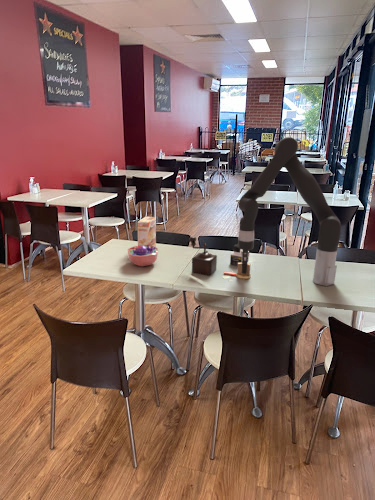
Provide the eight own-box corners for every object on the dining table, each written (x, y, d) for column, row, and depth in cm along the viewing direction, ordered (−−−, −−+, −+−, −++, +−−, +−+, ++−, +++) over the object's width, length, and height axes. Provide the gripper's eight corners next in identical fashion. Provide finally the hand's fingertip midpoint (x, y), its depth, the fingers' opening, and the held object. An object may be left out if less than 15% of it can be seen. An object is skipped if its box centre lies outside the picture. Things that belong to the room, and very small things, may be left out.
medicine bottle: (229, 266, 205) (230, 245, 201) (234, 262, 211) (235, 242, 207) (242, 269, 202) (243, 247, 198) (246, 265, 208) (248, 244, 204)
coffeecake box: (148, 254, 223) (148, 222, 217) (137, 253, 225) (136, 221, 219) (156, 247, 237) (156, 216, 231) (145, 246, 238) (145, 216, 232)
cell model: (161, 259, 215) (161, 240, 212) (155, 271, 196) (154, 251, 193) (132, 257, 217) (131, 238, 213) (123, 269, 198) (122, 249, 195)
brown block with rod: (251, 275, 190) (252, 262, 188) (249, 280, 183) (250, 266, 181) (225, 271, 194) (226, 258, 192) (222, 276, 188) (222, 263, 185)
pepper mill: (217, 271, 198) (218, 238, 192) (210, 278, 188) (211, 244, 183) (190, 267, 204) (190, 235, 198) (182, 273, 194) (182, 240, 188)
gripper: (254, 243, 174) (251, 277, 180) (253, 235, 188) (251, 267, 193) (238, 242, 175) (236, 276, 181) (238, 234, 189) (236, 266, 194)
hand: (244, 271), depth 187 cm, fingers closed on brown block with rod, 2 cm apart
